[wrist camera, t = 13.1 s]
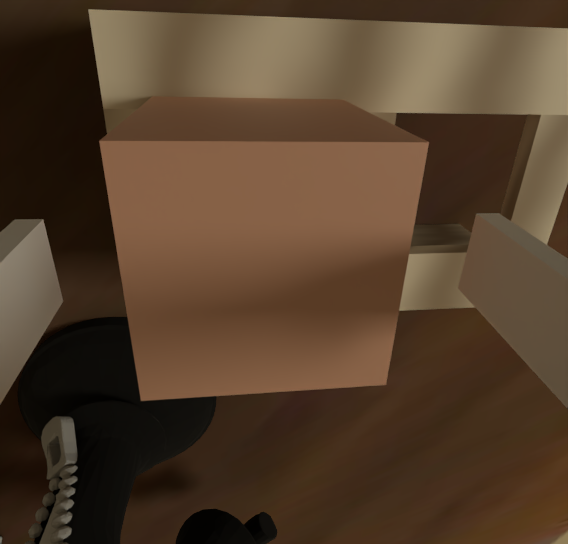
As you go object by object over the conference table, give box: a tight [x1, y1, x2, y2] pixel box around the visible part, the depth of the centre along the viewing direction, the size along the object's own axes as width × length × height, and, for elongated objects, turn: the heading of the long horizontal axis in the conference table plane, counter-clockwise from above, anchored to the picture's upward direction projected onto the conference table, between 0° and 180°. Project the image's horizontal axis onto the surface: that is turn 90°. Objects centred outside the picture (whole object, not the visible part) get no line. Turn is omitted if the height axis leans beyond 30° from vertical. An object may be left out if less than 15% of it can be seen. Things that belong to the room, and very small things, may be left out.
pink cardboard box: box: [99, 96, 429, 401], centre depth 18 cm, size 8×8×12 cm
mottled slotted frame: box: [88, 9, 568, 311], centre depth 25 cm, size 22×14×9 cm, turn 88°
